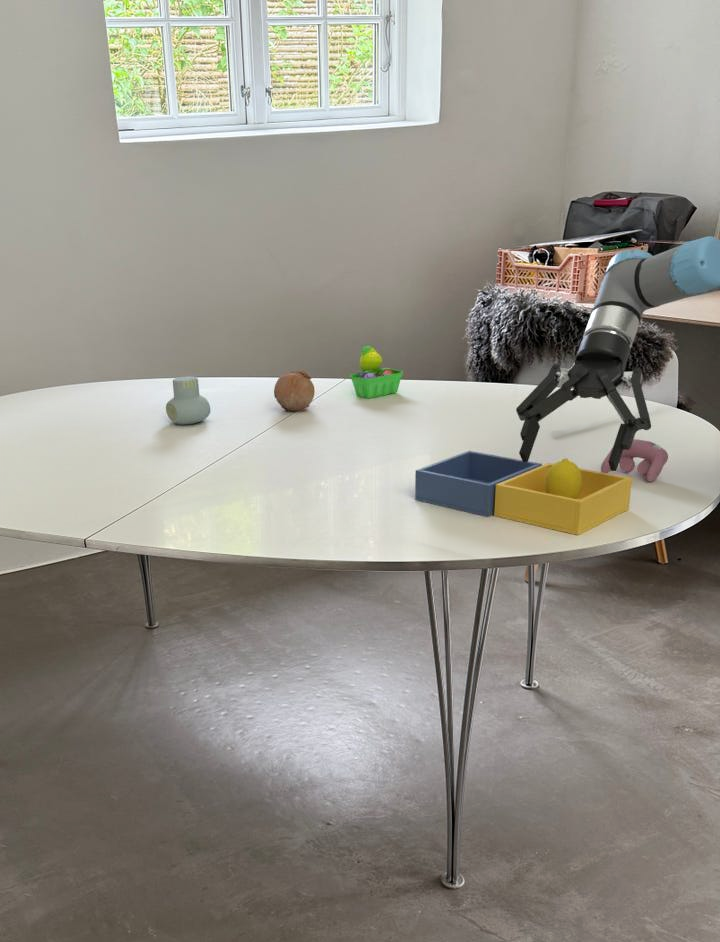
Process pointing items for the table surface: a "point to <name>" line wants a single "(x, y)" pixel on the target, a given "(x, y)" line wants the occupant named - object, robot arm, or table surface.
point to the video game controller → (648, 467)
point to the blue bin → (467, 481)
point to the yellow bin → (562, 500)
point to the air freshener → (187, 402)
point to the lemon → (564, 479)
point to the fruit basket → (374, 376)
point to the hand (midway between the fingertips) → (566, 462)
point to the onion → (294, 391)
